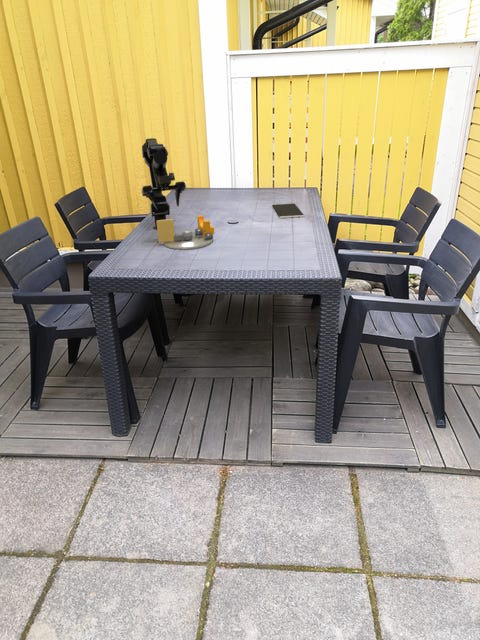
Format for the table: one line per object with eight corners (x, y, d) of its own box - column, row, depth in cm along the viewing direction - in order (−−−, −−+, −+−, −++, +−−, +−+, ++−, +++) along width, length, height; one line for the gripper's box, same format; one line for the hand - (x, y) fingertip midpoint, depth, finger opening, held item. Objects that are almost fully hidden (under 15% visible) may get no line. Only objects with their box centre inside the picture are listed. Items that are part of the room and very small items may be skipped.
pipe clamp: (214, 234, 225) (213, 220, 222) (205, 235, 224) (204, 221, 221) (206, 227, 235) (205, 214, 232) (198, 229, 234) (197, 215, 231)
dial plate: (176, 233, 227) (175, 227, 226) (219, 236, 221) (219, 229, 220) (154, 248, 209) (154, 241, 207) (201, 251, 202) (201, 244, 201)
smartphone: (279, 220, 245) (279, 216, 244) (271, 207, 269) (271, 204, 268) (304, 218, 246) (304, 215, 245) (294, 206, 270) (294, 203, 269)
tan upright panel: (191, 236, 216) (189, 215, 212) (193, 239, 213) (192, 218, 208) (158, 240, 213) (155, 219, 208) (159, 243, 209) (157, 222, 205)
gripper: (140, 168, 198) (148, 205, 198) (184, 163, 204) (191, 199, 204) (138, 178, 209) (146, 212, 209) (180, 173, 214) (187, 207, 214)
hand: (167, 207), depth 209 cm, fingers open, 9 cm apart
